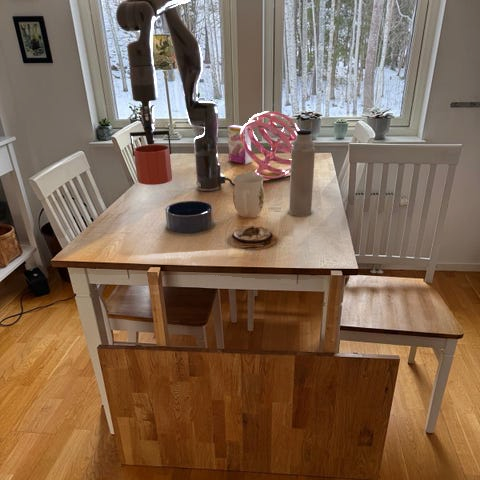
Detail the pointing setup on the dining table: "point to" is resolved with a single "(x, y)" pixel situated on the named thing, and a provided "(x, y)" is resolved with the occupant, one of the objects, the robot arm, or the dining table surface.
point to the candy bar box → (238, 145)
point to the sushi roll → (254, 237)
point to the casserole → (189, 217)
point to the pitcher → (248, 194)
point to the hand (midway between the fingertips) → (150, 143)
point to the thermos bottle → (302, 174)
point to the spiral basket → (270, 141)
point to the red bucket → (152, 161)
